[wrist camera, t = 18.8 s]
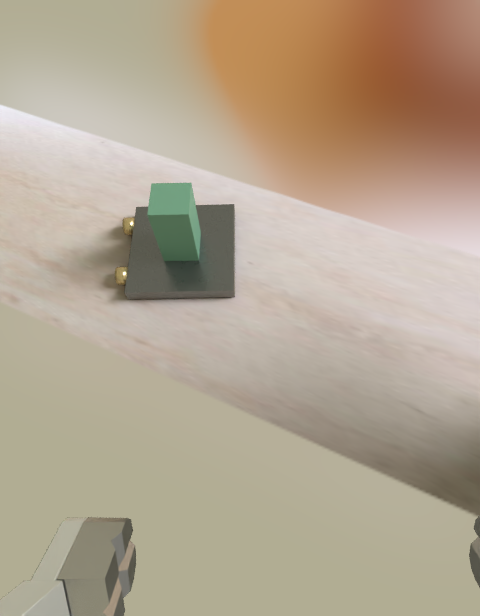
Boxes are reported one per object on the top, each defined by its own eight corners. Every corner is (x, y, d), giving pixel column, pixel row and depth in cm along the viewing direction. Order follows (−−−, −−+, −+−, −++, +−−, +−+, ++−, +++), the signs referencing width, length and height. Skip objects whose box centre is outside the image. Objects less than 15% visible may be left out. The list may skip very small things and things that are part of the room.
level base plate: (234, 204, 52) (234, 193, 50) (234, 297, 46) (233, 288, 44) (131, 207, 53) (126, 196, 51) (117, 299, 47) (112, 290, 45)
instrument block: (201, 227, 49) (191, 178, 42) (198, 260, 47) (188, 214, 40) (167, 228, 49) (152, 179, 42) (163, 260, 47) (147, 215, 40)
